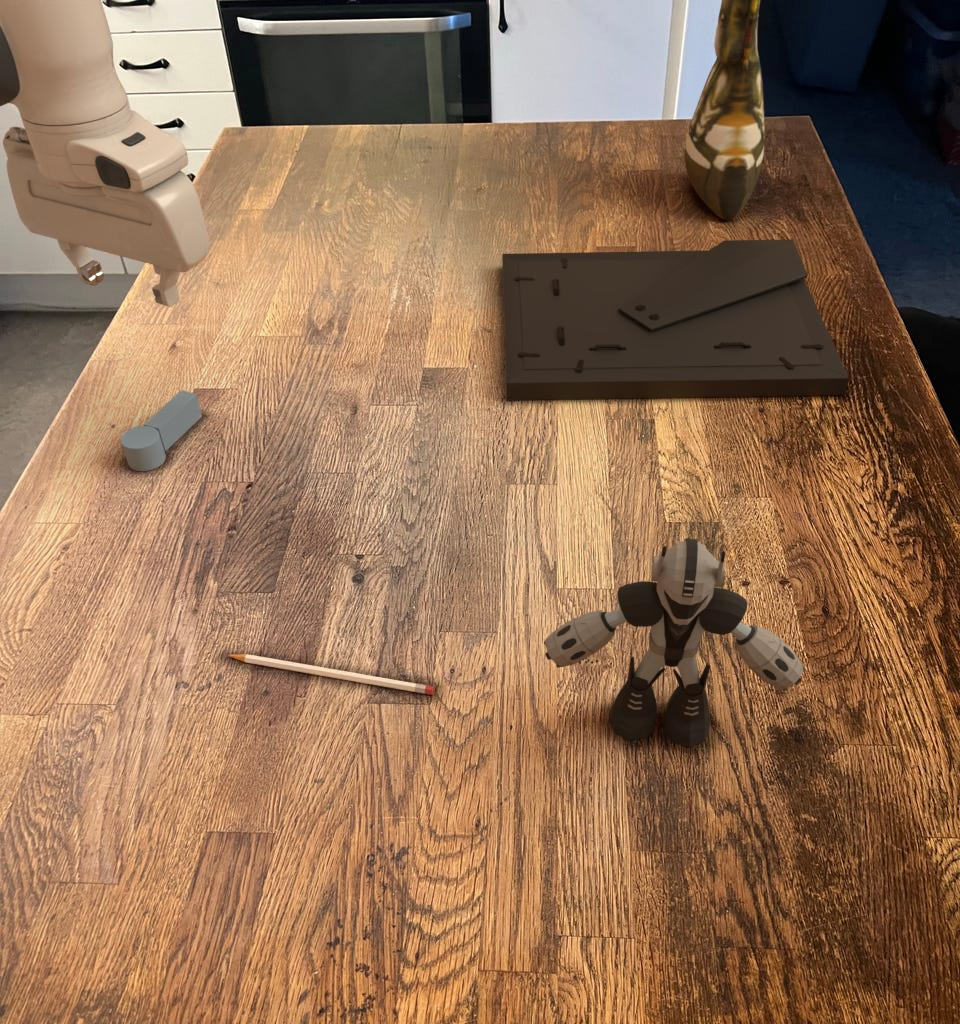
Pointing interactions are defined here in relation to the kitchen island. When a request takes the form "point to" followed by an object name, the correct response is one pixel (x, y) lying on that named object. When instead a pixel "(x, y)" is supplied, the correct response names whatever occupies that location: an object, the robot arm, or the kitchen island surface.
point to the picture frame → (666, 325)
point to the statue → (729, 116)
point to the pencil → (335, 673)
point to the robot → (675, 642)
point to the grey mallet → (160, 432)
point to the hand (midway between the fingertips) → (130, 292)
